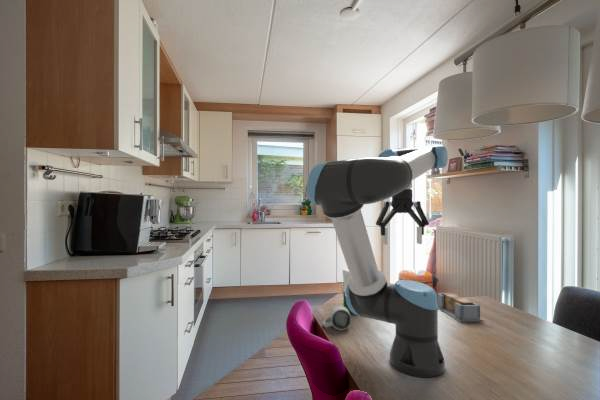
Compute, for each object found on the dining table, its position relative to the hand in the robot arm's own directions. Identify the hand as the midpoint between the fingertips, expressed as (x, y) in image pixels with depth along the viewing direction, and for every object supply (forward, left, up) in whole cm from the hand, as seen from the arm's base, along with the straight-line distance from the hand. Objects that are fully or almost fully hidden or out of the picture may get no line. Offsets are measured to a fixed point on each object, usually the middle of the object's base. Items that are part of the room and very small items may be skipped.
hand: (402, 243), depth 122 cm
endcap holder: (+13, -30, -32) cm, 45 cm away
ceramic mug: (+3, +25, -32) cm, 41 cm away
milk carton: (+20, +14, -32) cm, 40 cm away
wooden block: (+13, -30, -31) cm, 45 cm away
